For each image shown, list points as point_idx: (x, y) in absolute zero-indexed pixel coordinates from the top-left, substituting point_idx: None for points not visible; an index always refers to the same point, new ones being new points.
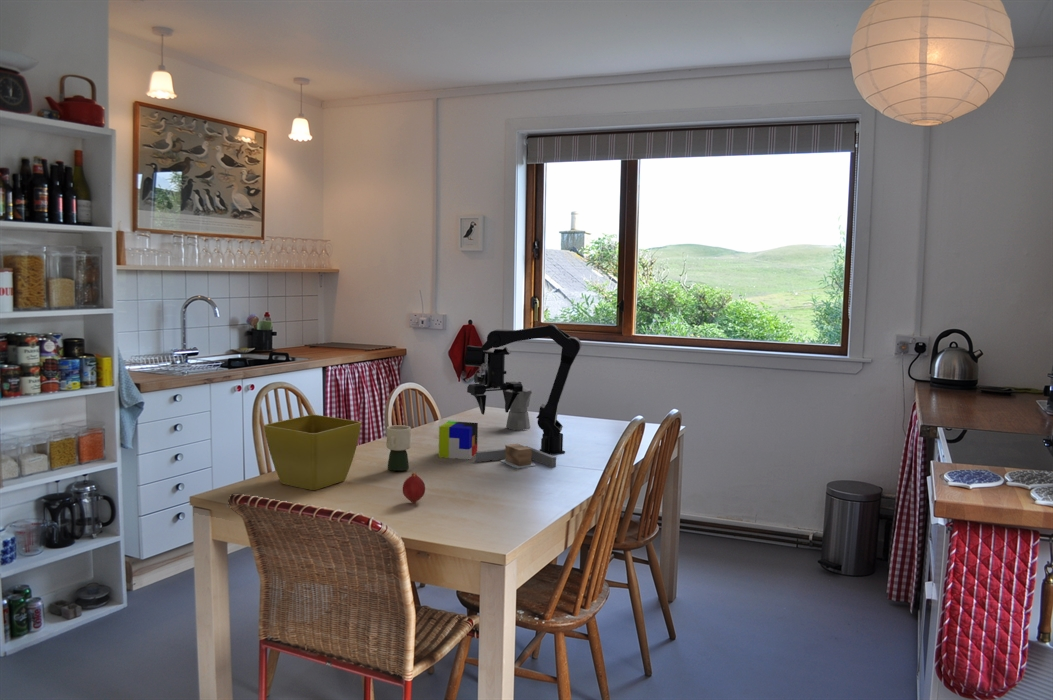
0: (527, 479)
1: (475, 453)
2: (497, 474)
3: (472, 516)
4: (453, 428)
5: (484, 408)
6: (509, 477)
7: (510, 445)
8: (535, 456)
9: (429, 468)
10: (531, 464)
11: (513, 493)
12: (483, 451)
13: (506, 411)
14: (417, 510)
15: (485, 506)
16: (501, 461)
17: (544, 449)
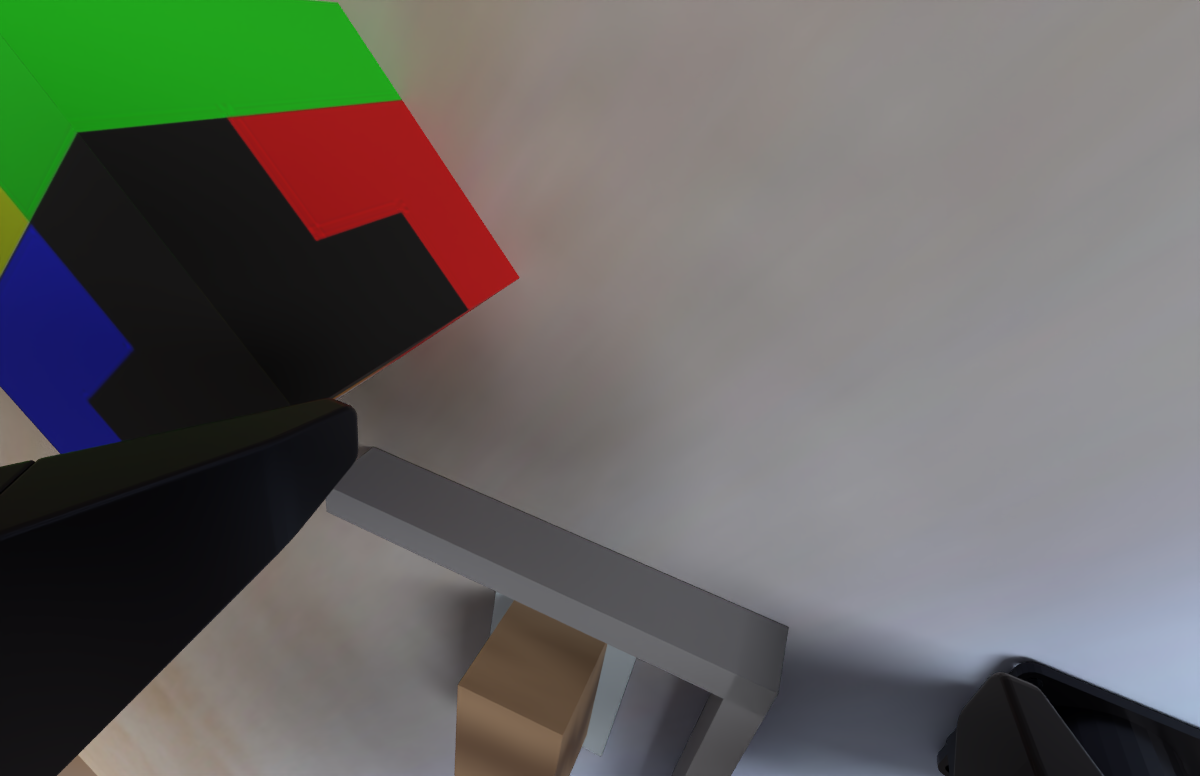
0: (420, 771)
1: (476, 306)
2: (352, 657)
3: (144, 743)
4: (11, 383)
5: (225, 585)
6: (374, 710)
7: (481, 714)
8: (690, 746)
9: None
10: (588, 736)
11: (296, 772)
12: (374, 519)
13: (967, 731)
14: None
15: (188, 744)
16: None
17: (952, 751)
